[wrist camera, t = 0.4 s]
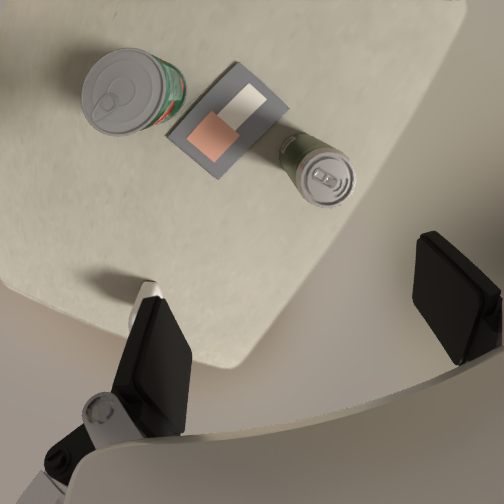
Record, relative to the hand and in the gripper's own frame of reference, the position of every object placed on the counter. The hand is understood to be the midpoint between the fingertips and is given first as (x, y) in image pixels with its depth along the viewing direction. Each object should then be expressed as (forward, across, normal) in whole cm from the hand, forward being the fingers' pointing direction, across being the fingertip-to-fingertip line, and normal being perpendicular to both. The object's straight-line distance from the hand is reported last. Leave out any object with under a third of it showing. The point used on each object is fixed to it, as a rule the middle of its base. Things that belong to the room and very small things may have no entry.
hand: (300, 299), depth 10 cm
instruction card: (+27, +2, -5) cm, 28 cm away
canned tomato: (+28, +9, -11) cm, 31 cm away
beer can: (+28, -6, +1) cm, 28 cm away
